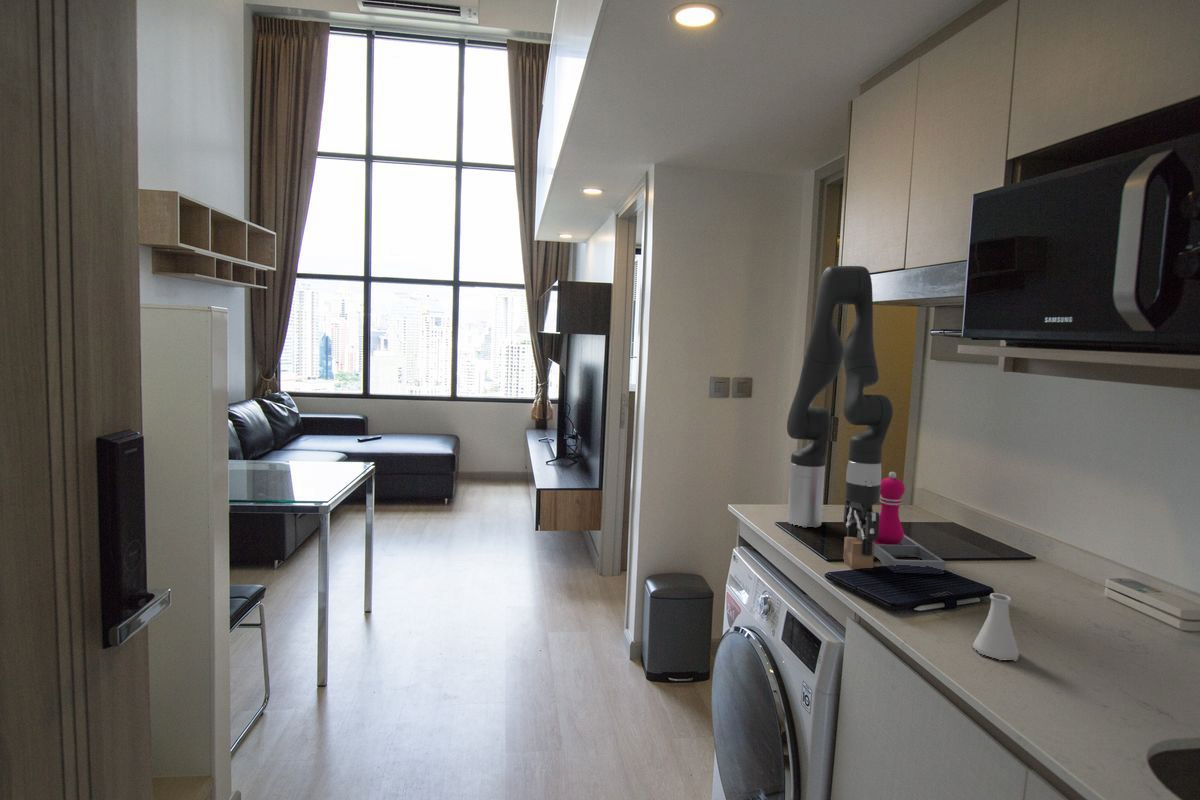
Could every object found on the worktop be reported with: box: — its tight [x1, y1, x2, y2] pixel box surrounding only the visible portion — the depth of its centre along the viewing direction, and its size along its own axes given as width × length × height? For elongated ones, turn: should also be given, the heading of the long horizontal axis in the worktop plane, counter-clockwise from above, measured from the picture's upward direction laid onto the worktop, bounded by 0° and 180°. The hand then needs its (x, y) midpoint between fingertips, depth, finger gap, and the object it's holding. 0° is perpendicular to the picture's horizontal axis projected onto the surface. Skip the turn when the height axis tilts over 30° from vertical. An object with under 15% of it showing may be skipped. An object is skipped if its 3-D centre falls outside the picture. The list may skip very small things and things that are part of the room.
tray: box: [857, 530, 946, 571], centre depth 163 cm, size 22×12×3 cm, turn 1°
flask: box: [971, 592, 1020, 661], centre depth 115 cm, size 7×7×10 cm
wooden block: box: [842, 536, 875, 570], centre depth 157 cm, size 5×5×6 cm
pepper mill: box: [873, 471, 906, 545], centre depth 167 cm, size 7×7×20 cm
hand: (858, 549), depth 156 cm, fingers open, 8 cm apart
